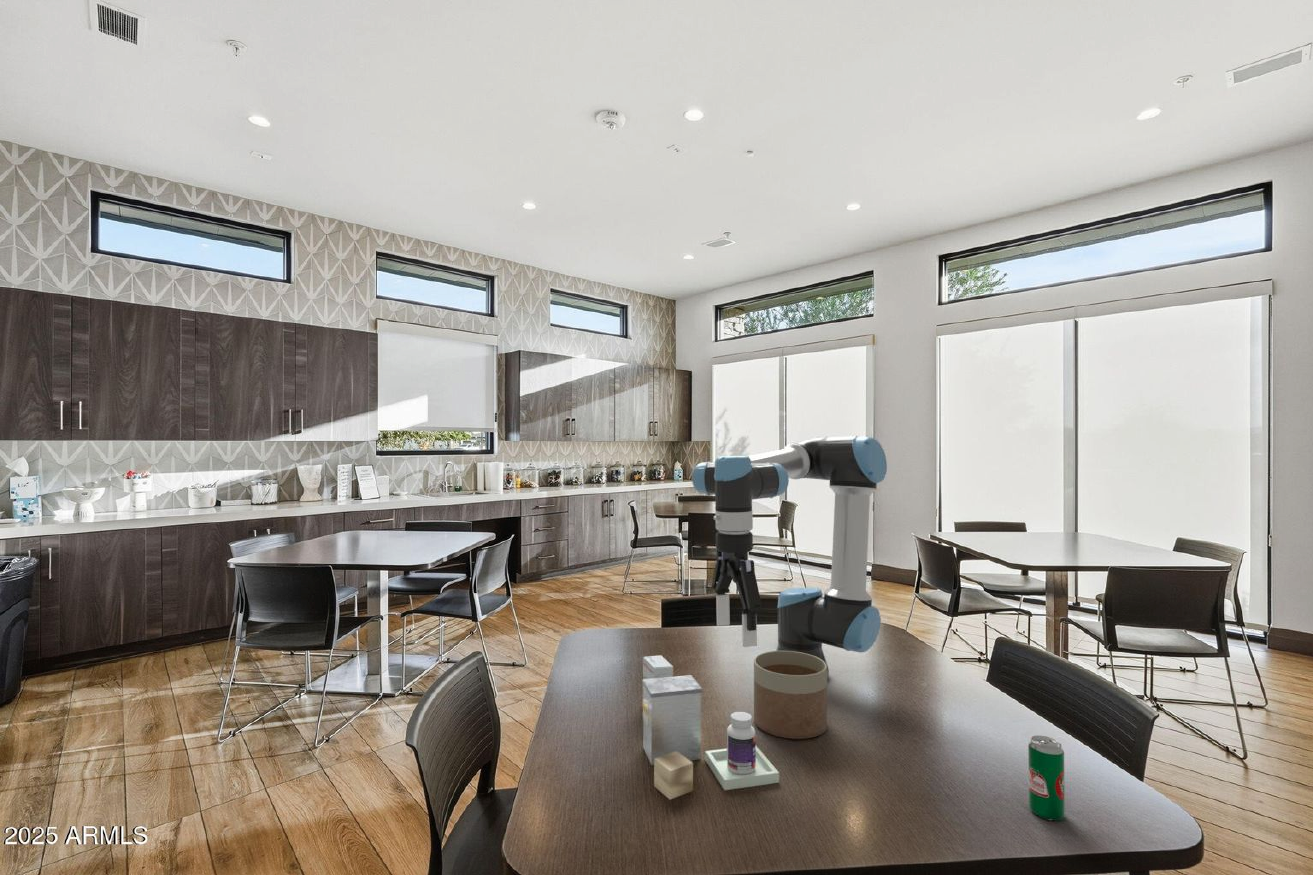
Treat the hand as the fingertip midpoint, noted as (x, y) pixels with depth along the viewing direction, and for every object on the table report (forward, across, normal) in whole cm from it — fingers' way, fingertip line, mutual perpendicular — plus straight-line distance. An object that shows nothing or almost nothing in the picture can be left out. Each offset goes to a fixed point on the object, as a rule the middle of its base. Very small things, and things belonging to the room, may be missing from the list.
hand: (735, 635), depth 122 cm
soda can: (+24, +34, +41) cm, 59 cm away
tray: (+23, +9, -3) cm, 25 cm away
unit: (+23, -1, -14) cm, 27 cm away
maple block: (+22, +11, -17) cm, 30 cm away
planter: (+24, -6, +15) cm, 29 cm away
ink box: (+23, -20, -11) cm, 33 cm away
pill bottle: (+22, +8, -3) cm, 24 cm away
